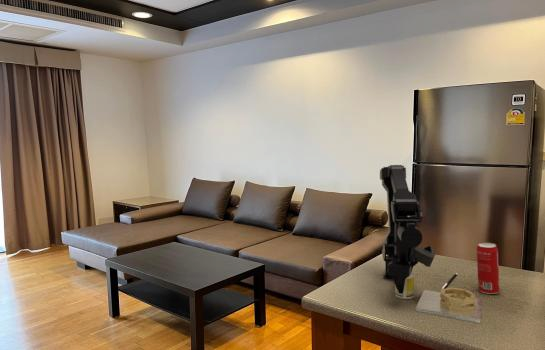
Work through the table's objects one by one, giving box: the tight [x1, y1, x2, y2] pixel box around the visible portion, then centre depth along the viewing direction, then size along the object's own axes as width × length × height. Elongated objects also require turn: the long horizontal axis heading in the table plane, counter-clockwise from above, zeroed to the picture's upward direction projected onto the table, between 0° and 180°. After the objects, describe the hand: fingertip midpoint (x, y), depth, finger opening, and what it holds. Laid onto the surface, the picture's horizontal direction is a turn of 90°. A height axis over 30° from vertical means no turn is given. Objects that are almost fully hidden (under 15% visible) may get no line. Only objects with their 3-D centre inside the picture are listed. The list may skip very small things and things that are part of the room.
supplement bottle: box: [394, 271, 415, 300], centre depth 119 cm, size 5×5×10 cm
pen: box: [440, 272, 458, 292], centre depth 129 cm, size 1×19×1 cm, turn 141°
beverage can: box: [476, 241, 501, 295], centre depth 120 cm, size 6×6×15 cm
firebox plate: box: [415, 287, 483, 324], centre depth 111 cm, size 16×14×4 cm
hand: (404, 287), depth 119 cm, fingers open, 9 cm apart
